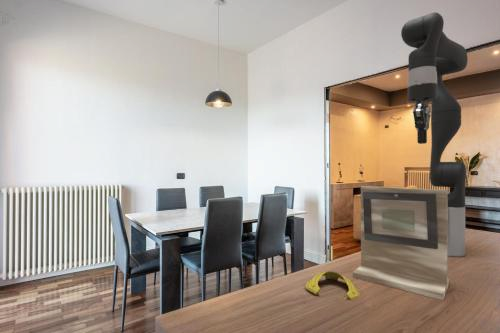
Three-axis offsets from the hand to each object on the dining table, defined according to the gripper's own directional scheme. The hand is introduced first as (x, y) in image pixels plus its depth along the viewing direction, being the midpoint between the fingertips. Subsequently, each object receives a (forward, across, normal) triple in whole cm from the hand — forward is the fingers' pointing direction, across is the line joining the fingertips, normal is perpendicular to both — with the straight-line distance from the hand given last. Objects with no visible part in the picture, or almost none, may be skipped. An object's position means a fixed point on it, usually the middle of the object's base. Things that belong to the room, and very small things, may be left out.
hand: (422, 143), depth 85 cm
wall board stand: (+39, +10, -4) cm, 40 cm away
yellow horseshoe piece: (+39, +26, -17) cm, 50 cm away
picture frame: (+28, +12, -4) cm, 31 cm away
